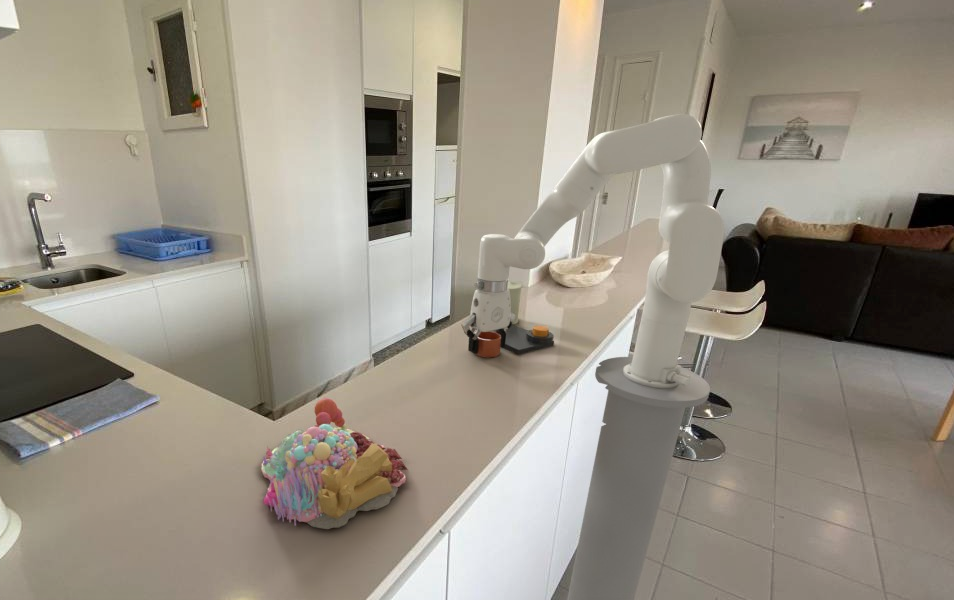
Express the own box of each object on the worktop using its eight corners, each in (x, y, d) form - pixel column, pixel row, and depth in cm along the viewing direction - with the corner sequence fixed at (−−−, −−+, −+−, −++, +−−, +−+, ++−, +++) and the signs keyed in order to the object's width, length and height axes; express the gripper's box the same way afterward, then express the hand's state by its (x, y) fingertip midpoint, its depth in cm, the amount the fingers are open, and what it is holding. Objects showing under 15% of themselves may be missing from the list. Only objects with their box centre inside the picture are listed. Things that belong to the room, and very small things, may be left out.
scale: (557, 345, 131) (558, 335, 130) (519, 355, 125) (520, 344, 124) (515, 327, 144) (516, 318, 143) (478, 335, 138) (479, 326, 137)
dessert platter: (432, 472, 79) (434, 424, 76) (329, 558, 63) (326, 501, 59) (328, 421, 94) (325, 379, 91) (222, 480, 78) (215, 431, 74)
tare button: (550, 336, 131) (551, 329, 130) (540, 338, 129) (541, 331, 128) (539, 331, 134) (540, 324, 133) (529, 334, 132) (530, 327, 131)
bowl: (505, 355, 125) (506, 337, 123) (484, 360, 122) (486, 342, 120) (487, 346, 131) (489, 329, 129) (468, 351, 128) (469, 333, 126)
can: (524, 321, 150) (528, 284, 145) (504, 327, 145) (507, 288, 140) (502, 313, 157) (505, 278, 152) (482, 319, 152) (484, 282, 147)
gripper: (474, 293, 112) (469, 360, 119) (528, 284, 120) (521, 347, 127) (455, 285, 119) (451, 350, 125) (508, 277, 126) (501, 338, 133)
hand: (486, 348), depth 126 cm, fingers open, 8 cm apart
